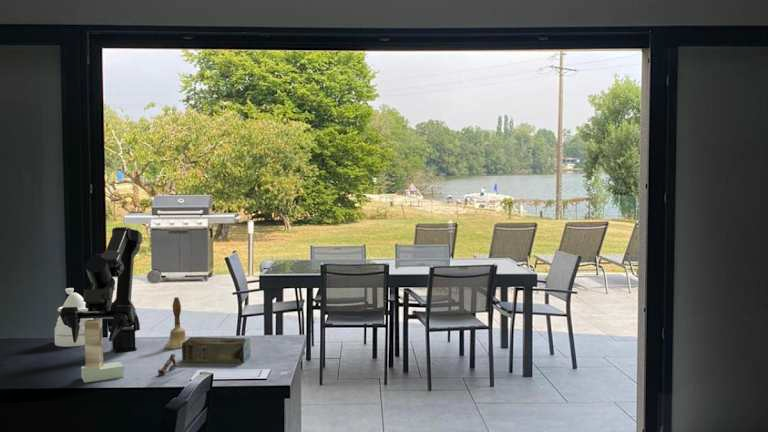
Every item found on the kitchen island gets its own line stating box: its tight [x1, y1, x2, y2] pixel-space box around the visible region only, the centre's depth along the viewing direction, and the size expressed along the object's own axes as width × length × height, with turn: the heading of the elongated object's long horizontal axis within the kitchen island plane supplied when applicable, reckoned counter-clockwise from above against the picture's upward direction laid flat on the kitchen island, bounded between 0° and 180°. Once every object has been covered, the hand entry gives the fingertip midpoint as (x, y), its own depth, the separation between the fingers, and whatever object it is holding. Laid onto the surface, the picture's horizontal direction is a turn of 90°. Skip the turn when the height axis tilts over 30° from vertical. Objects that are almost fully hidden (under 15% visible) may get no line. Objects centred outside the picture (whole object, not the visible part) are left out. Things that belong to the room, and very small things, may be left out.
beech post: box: [84, 318, 104, 370], centre depth 190 cm, size 4×4×13 cm
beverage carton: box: [181, 336, 252, 364], centre depth 210 cm, size 8×19×7 cm, turn 86°
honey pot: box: [54, 287, 94, 348], centre depth 234 cm, size 13×13×18 cm
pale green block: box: [80, 361, 125, 383], centre depth 192 cm, size 10×6×3 cm, turn 120°
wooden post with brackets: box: [157, 353, 178, 376], centre depth 197 cm, size 2×8×4 cm, turn 167°
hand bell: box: [164, 296, 188, 350], centre depth 227 cm, size 8×8×16 cm
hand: (92, 341), depth 189 cm, fingers open, 9 cm apart
